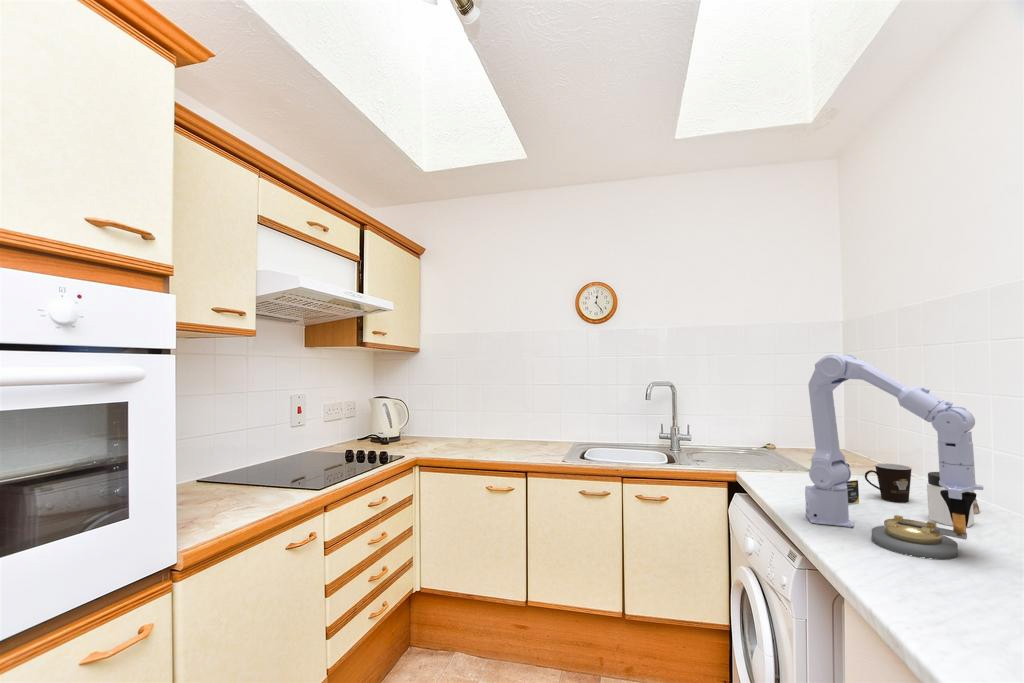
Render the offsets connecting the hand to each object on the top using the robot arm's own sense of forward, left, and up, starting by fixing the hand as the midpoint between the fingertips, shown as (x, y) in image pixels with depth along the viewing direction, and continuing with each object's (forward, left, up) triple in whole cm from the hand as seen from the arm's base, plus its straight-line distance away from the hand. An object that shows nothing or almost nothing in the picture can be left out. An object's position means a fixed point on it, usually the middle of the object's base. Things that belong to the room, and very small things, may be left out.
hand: (960, 525), depth 103 cm
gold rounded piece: (-6, +1, -4) cm, 7 cm away
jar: (+7, +25, -6) cm, 26 cm away
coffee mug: (-1, +44, -6) cm, 44 cm away
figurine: (+14, +38, -6) cm, 41 cm away
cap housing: (-8, +2, -6) cm, 10 cm away
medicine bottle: (-15, +37, -6) cm, 40 cm away
